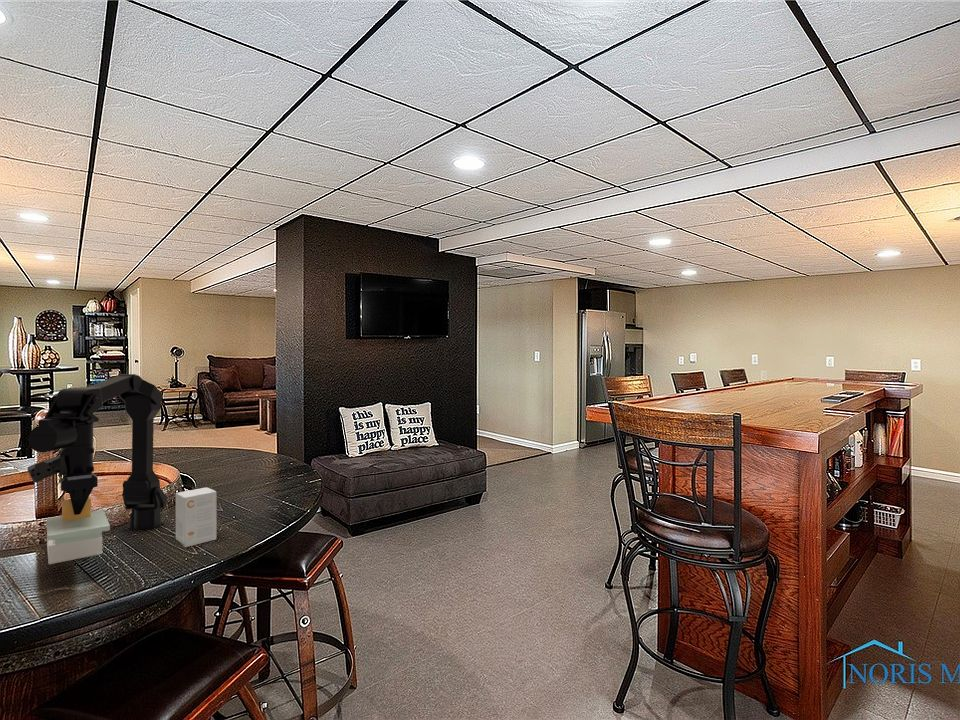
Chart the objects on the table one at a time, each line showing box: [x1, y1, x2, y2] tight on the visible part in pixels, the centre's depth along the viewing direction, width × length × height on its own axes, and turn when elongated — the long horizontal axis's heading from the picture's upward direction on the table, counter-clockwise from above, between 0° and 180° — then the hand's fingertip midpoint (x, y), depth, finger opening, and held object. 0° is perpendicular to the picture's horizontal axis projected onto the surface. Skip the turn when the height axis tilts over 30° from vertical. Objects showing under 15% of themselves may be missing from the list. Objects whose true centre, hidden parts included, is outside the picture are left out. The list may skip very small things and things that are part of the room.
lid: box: [45, 496, 111, 545], centre depth 115 cm, size 14×10×6 cm
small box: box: [175, 487, 218, 548], centre depth 137 cm, size 8×6×13 cm
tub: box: [46, 536, 103, 565], centre depth 128 cm, size 14×10×5 cm
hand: (77, 512), depth 118 cm, fingers closed on lid, 2 cm apart
